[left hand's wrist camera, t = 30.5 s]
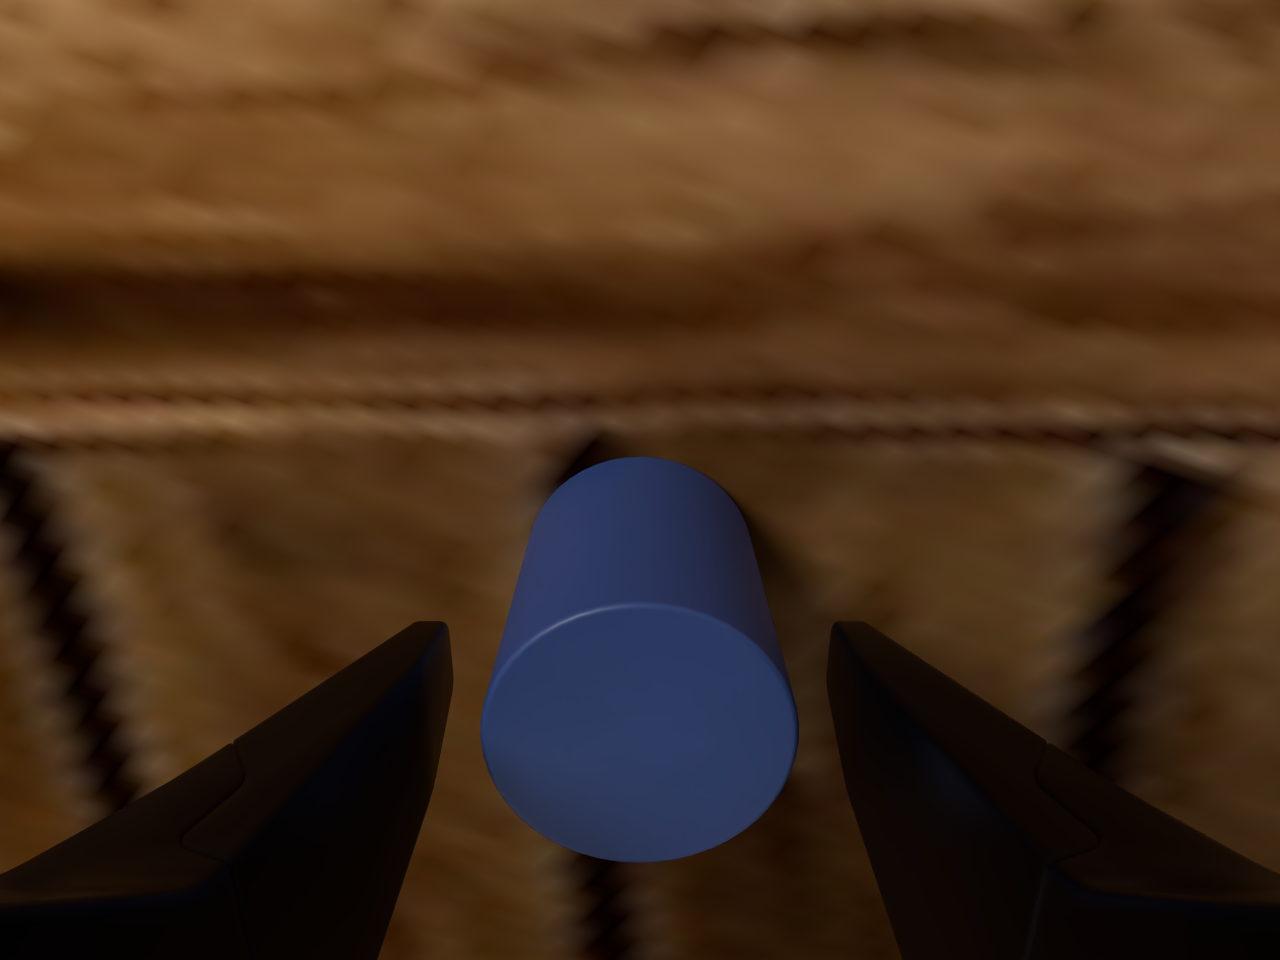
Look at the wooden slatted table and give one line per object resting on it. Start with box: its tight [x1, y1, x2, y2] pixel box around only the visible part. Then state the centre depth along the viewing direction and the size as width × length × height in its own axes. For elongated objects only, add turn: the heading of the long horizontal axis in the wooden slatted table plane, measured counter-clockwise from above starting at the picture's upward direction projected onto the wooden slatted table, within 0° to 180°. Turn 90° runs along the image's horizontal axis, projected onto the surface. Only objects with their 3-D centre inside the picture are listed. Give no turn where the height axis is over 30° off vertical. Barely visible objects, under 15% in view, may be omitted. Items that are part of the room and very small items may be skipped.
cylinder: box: [481, 457, 799, 863], centre depth 11 cm, size 4×4×4 cm
